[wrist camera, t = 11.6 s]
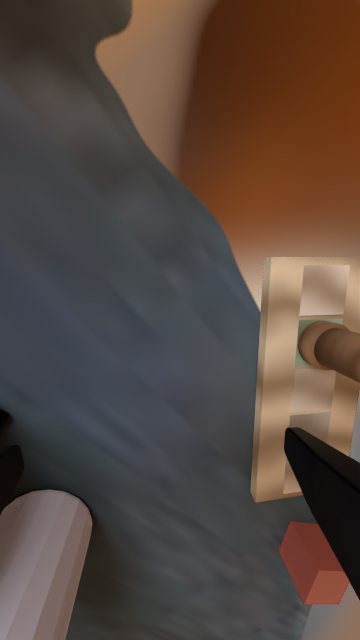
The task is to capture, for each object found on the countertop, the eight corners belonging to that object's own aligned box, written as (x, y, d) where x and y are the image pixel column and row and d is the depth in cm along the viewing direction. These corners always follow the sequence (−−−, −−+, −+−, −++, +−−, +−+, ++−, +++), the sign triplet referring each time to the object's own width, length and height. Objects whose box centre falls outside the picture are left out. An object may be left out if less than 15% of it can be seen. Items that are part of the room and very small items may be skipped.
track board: (335, 478, 25) (345, 489, 24) (250, 491, 23) (255, 503, 22) (366, 259, 20) (381, 257, 19) (264, 258, 19) (272, 257, 18)
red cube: (308, 551, 27) (338, 604, 22) (278, 549, 26) (304, 604, 21) (320, 523, 26) (354, 571, 22) (290, 520, 25) (319, 570, 21)
